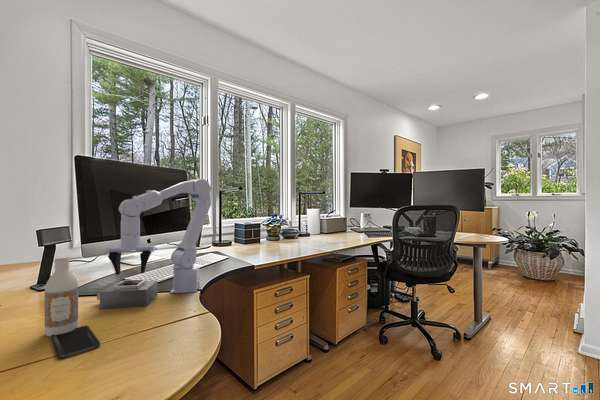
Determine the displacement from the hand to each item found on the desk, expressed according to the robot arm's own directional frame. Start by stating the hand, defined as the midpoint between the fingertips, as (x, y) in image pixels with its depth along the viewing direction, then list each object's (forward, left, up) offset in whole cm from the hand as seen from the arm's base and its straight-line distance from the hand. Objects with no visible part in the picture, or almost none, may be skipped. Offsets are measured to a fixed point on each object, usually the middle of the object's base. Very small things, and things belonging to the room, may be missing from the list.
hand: (130, 273), depth 98 cm
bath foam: (+9, +21, -10) cm, 25 cm away
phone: (+2, +28, -10) cm, 30 cm away
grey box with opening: (+2, 0, -10) cm, 10 cm away
